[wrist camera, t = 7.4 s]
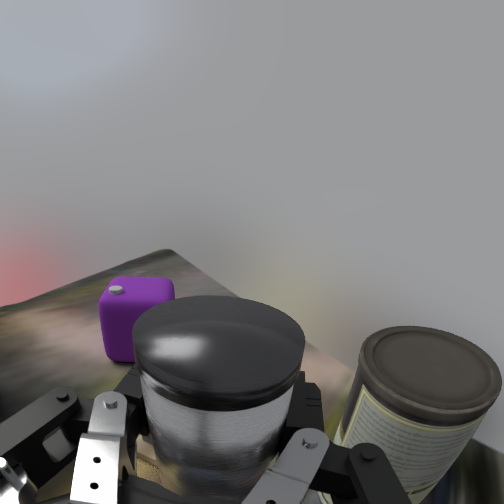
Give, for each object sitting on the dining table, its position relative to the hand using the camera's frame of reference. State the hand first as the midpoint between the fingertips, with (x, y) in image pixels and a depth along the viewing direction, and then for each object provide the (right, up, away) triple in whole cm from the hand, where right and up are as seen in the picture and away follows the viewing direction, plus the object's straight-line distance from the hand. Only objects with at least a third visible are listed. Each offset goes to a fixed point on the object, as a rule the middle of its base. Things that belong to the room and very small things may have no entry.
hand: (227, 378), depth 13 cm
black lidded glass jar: (-1, -6, -1) cm, 7 cm away
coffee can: (+11, -15, +6) cm, 20 cm away
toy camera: (-15, -8, +28) cm, 33 cm away
